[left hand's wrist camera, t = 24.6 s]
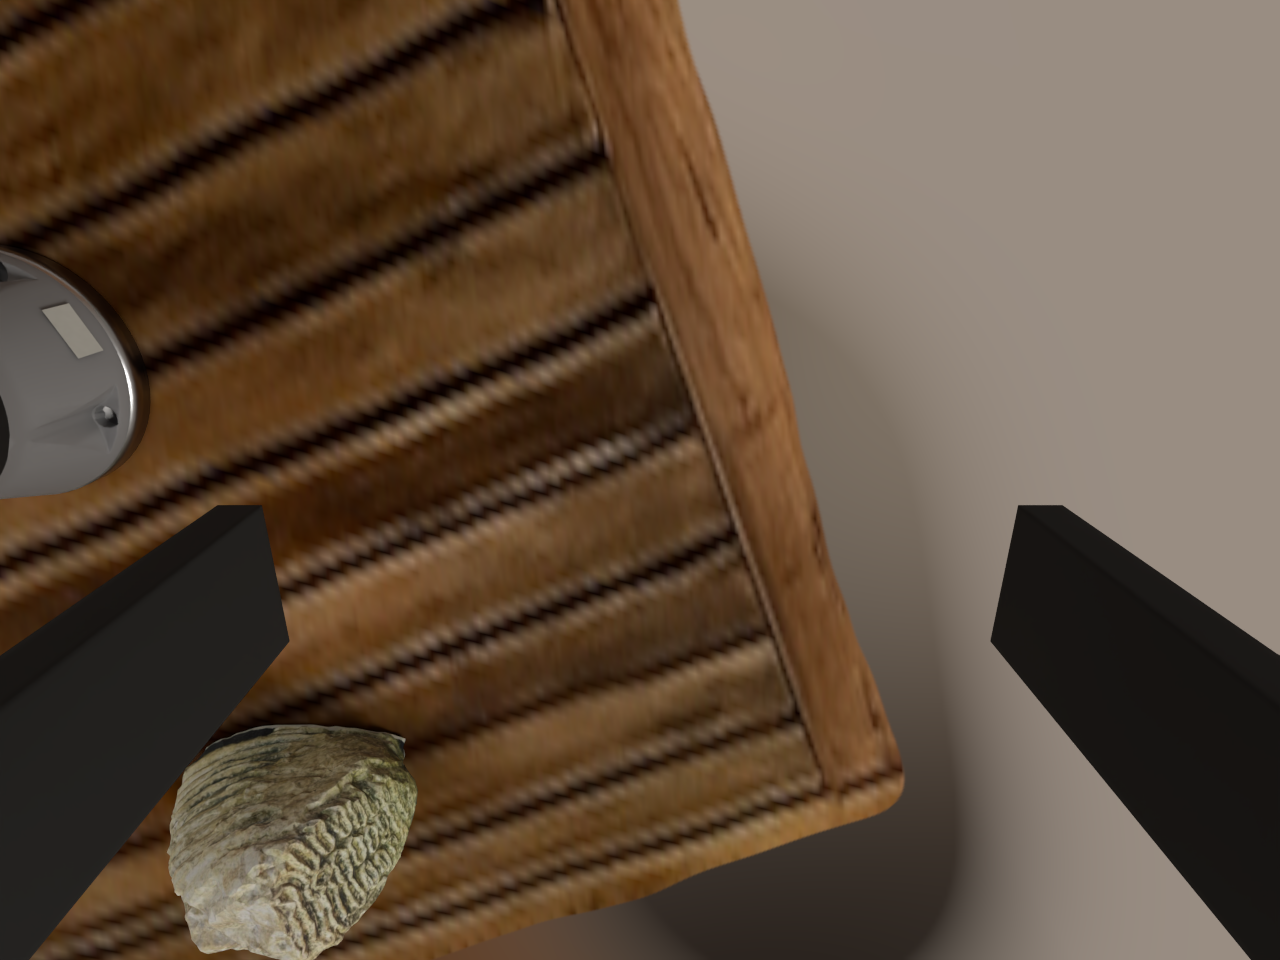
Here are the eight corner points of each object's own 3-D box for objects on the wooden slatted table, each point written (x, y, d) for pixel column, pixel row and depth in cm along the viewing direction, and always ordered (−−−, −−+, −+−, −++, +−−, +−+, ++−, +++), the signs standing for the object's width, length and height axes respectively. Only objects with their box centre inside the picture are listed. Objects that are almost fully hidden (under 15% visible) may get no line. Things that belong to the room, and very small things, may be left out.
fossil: (449, 777, 56) (386, 967, 42) (236, 825, 58) (107, 1023, 44) (406, 687, 53) (322, 858, 39) (183, 741, 55) (25, 924, 41)
